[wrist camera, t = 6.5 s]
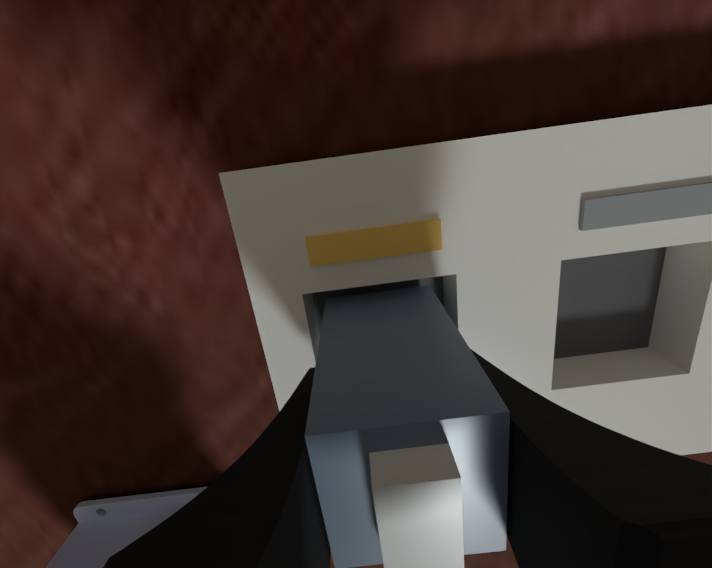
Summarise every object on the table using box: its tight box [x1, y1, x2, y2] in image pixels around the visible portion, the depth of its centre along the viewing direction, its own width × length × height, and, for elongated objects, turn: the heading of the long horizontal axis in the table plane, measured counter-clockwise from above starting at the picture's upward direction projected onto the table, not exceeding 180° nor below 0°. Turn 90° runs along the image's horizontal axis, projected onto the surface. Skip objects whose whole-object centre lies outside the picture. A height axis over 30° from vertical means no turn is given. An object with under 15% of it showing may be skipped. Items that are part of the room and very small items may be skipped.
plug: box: [305, 285, 510, 568], centre depth 10 cm, size 4×4×8 cm
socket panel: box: [219, 104, 712, 455], centre depth 14 cm, size 18×14×3 cm
